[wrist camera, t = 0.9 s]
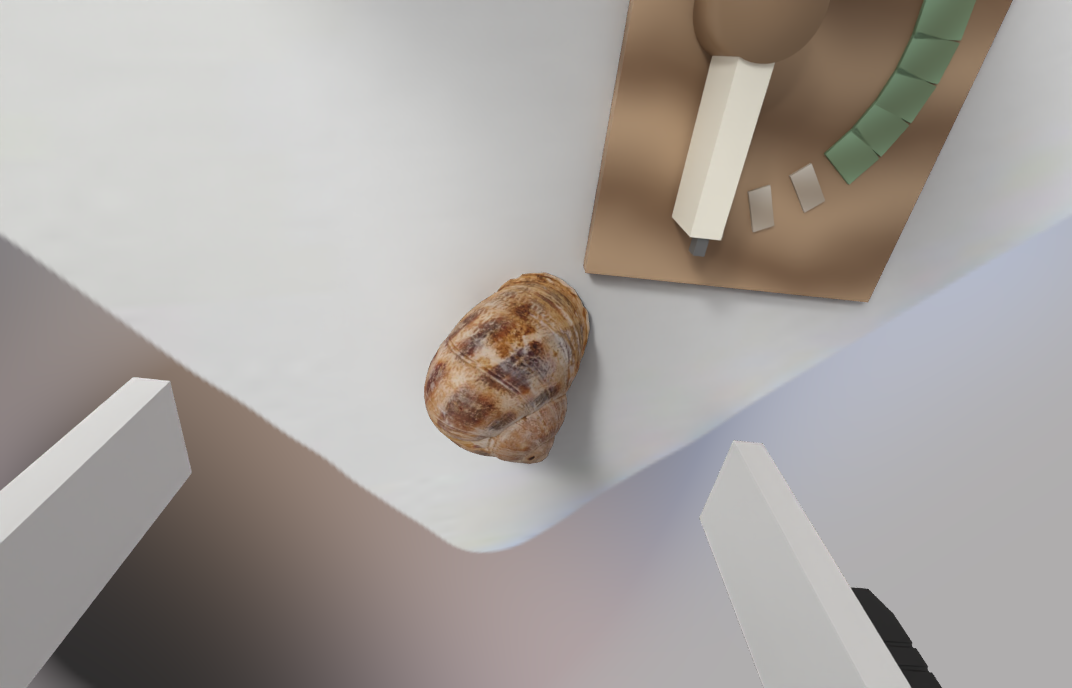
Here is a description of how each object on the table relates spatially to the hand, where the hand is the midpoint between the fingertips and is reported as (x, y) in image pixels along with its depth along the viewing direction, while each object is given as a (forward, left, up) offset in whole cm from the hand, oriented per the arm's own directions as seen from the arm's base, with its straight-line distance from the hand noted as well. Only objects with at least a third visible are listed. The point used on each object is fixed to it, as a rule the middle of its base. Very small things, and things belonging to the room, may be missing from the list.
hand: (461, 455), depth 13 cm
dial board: (-8, +15, -21) cm, 26 cm away
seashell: (+9, +2, -21) cm, 23 cm away
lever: (-7, +11, -19) cm, 23 cm away
